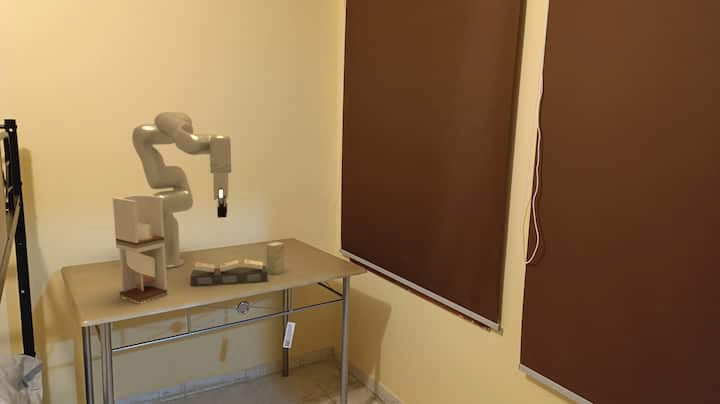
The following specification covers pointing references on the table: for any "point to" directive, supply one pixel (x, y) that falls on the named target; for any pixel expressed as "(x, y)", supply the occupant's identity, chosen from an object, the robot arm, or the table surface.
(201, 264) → the rocker
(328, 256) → the table surface
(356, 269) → the table surface
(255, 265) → the rocker
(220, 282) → the power strip
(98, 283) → the table surface
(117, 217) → the display case
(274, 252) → the skincare box
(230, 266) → the cream flat rectangular block
